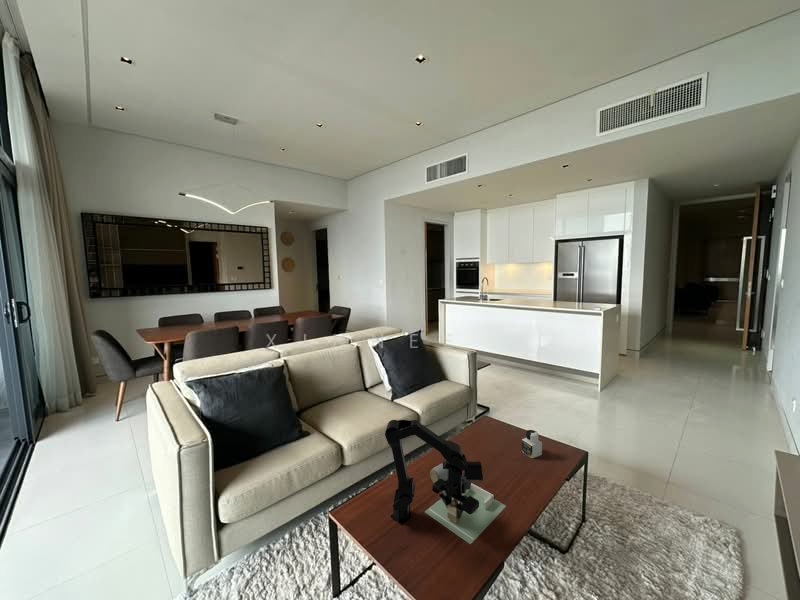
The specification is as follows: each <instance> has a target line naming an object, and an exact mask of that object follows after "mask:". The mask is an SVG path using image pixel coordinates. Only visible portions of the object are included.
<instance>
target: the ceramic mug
mask: <svg viewBox="0 0 800 600" xmlns="http://www.w3.org/2000/svg"><path fill="white" fill-rule="evenodd" d="M429 477H430V479H431V481H432V483H435V482H436V481H438V480H439V479H440V478H441V479H443V480H444V481H446V480H447V469H443V462H442V463H440V464H438V465H437V466H435V467H432V469H431V470H430V472H429Z"/></svg>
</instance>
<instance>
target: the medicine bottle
mask: <svg viewBox="0 0 800 600" xmlns="http://www.w3.org/2000/svg"><path fill="white" fill-rule="evenodd" d="M521 452H522V453H523V454H524V455H526V456H527V457H529V458H531V459H534V458H538V457H541V456H542V455H543V442H542V441H541V440H539V433H538V431H536V430H533V429H528V430H526V431H525V437H524V438H522V439H521Z"/></svg>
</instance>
